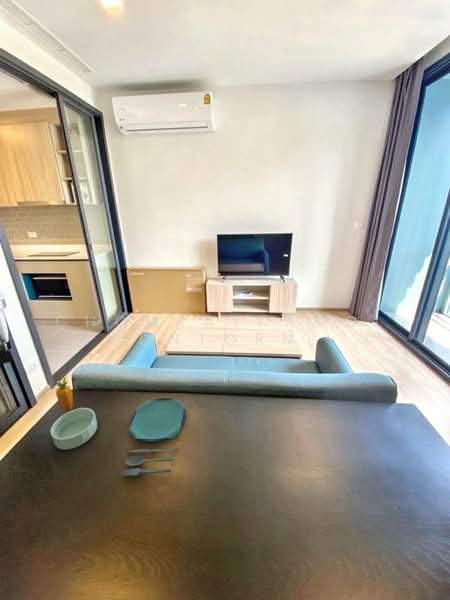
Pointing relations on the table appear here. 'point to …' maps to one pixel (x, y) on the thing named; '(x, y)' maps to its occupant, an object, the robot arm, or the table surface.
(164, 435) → the cutlery set
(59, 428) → the bowl
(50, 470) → the table surface
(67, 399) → the carrot
